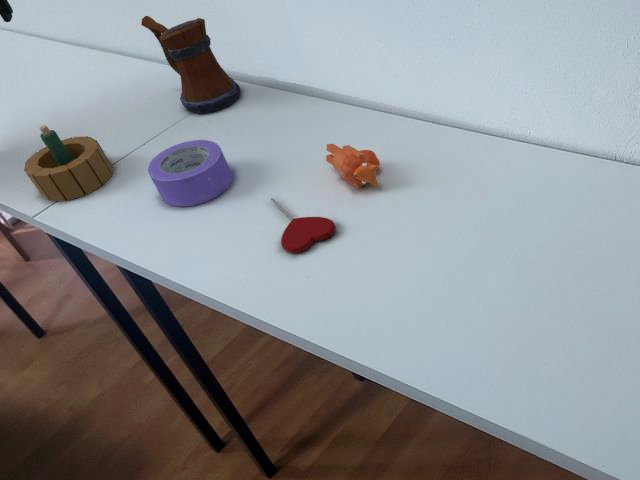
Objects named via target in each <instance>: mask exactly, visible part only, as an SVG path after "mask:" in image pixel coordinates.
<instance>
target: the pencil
mask: <svg viewBox="0 0 640 480" xmlns="http://www.w3.org/2000/svg"><path fill="white" fill-rule="evenodd" d="M38 129H39V130H40V132H41V133H40V135H39V138H40V139H41V140H42V142H43V143H44V145H45V147H46V146H47V148H48V149H49V151H50V152H51V154H52V155H53V157H54V158H55V160H56V161H57V163H58V164H59V165H60V166H62V165H66V164H68V163H70V162H71V161H73V160H74V159H73V158H72V156H71V155H70V153H69V152H68V150H67V149H66V147H65V146H64V144H63V143H62V141H61V140H62V139H61V138H60V137H59V135H58V134H57V132H56V130H54V129H50V128H49V127H48V125H46V124H44V125H41V126H39V128H38Z"/></svg>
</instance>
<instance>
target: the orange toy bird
mask: <svg viewBox="0 0 640 480" xmlns="http://www.w3.org/2000/svg"><path fill="white" fill-rule="evenodd" d="M326 151H327V152H329V153H330V154H326V155H325V161H326V162H327V163H328V164H330V165H332V167H333V169H334V170H336V171H337V172H339V173H340V174H341V179H343V180H345V181H346V182H347V183H349V184H351V185H353V186H354V187H356V188H361V187H364V185H366V184H367V183H370V184H371V185H372V186H373V187H376V186H378V185H379V182H378V179H377V177H376V176H377V175H376V173H377V170H378V169H379V168H380V165H381V164H380V163H381V162H380V160H379V158H378V157H377V155H376V153H375V152H374V151H373V150H371V149H361V150H358V149H356V148H354V147H353V146H351V145H350V144H347V145H346V144H345V145H342V148H341V147H339V146H338V145H336V144H334V143H327V144H326Z"/></svg>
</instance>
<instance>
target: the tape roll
mask: <svg viewBox="0 0 640 480" xmlns="http://www.w3.org/2000/svg"><path fill="white" fill-rule="evenodd" d="M147 174H148V175H149V178H150V179H151V181H152V183H153V184H154V186H155V188H156V191H157V192H158V193H159V195H160V197H161V199H162V200H163V201H164V203H165V204H167V205H170V206H173V207H178V208H179V207H181V208H182V207H183V208H184V207H193V206H198V205H201V204H205V203H207V202H209V201H211V200H214V199H215V198H217V197H219V196H220V195H221V194H224V192H225V191H226V190H227V189H228V188H229V187H230V185H231V184H232V182H233V172H232V170H231V168H230V166H229V164H228V161H227V159H226V157H225V154H224V153H223V151H222V148H221V146H220V145H219V144H218V143H217V142H215V141H212V140H208V139H194V140H186V141H184V142H179V143H176V144H174V145H172V146H170V147H168V148H165V149H164V150H162V151H160V152H159V153H158V154H157V155H155V156H154V157H153V158H152V159H151V160H150V162H149V163H148V166H147Z"/></svg>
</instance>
